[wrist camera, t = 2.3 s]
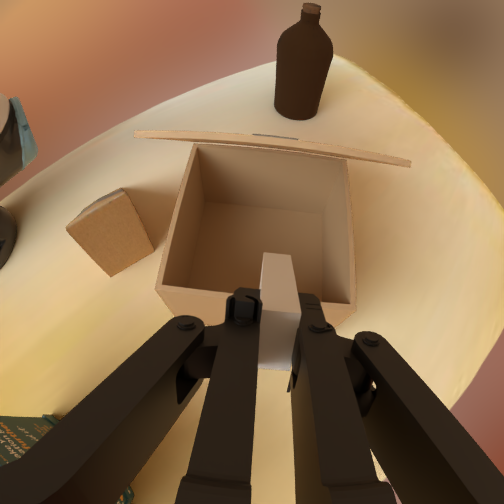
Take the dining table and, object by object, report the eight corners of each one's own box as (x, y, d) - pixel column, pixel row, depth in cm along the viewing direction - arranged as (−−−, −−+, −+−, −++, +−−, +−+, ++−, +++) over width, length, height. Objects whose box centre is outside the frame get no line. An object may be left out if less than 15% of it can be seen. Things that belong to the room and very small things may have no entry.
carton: (324, 336, 41) (356, 310, 29) (178, 321, 41) (154, 289, 30) (324, 213, 50) (346, 159, 38) (202, 200, 50) (193, 143, 39)
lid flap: (410, 167, 20) (411, 159, 19) (133, 137, 20) (134, 129, 20) (345, 158, 38) (346, 153, 38) (194, 141, 38) (195, 137, 38)
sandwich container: (122, 186, 52) (95, 124, 38) (156, 250, 46) (127, 191, 33) (82, 209, 49) (45, 153, 36) (109, 278, 44) (64, 228, 30)
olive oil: (290, 128, 59) (308, 16, 37) (261, 101, 63) (269, -2, 40) (329, 115, 62) (354, 14, 39) (299, 90, 66) (314, -4, 43)
